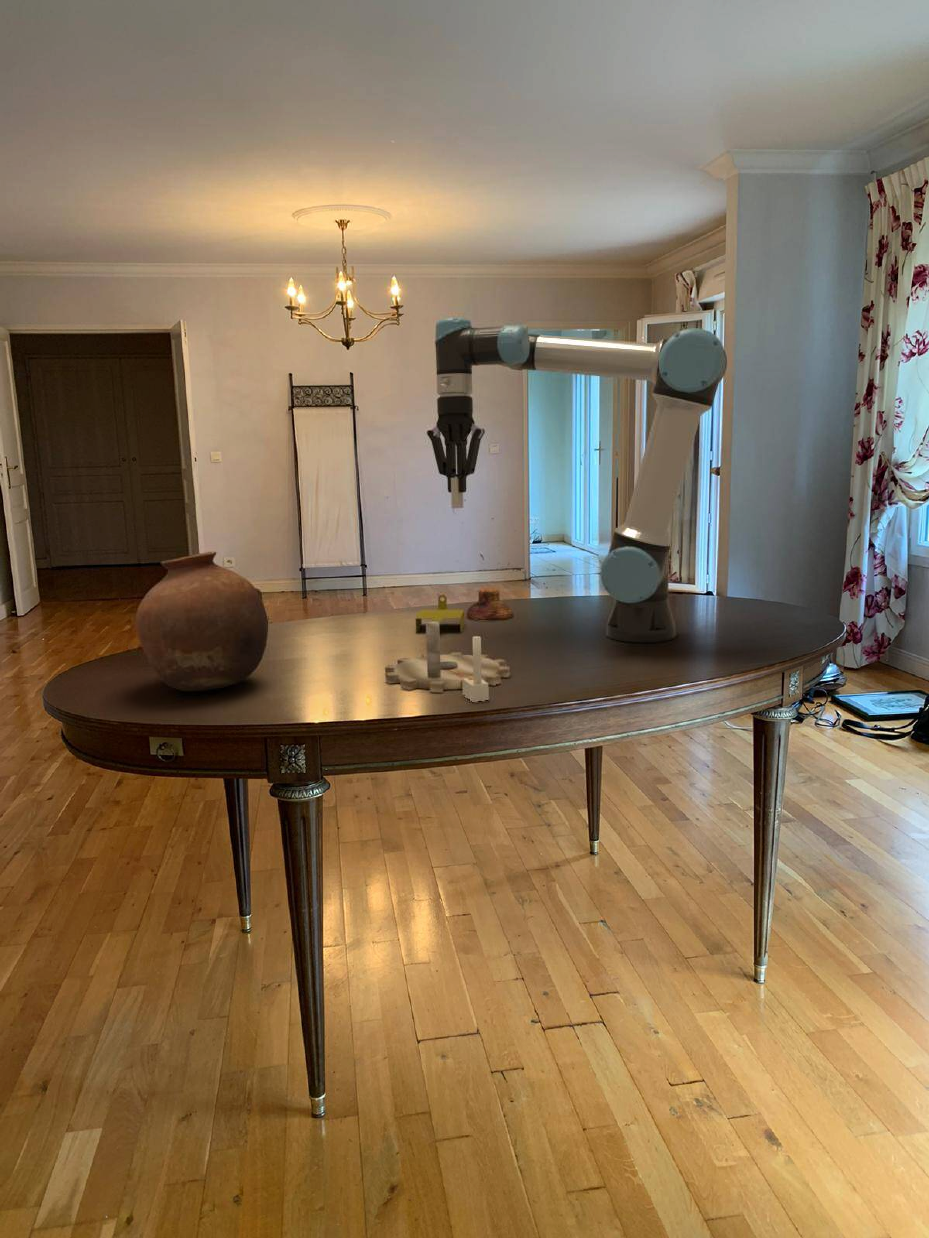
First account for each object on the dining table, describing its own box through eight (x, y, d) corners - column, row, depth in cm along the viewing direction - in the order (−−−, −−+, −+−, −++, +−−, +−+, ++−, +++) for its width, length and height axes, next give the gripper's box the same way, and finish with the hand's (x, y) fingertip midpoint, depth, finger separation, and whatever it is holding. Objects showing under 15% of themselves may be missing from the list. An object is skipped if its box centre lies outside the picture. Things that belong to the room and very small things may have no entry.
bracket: (401, 606, 198) (410, 595, 213) (402, 639, 200) (411, 626, 214) (469, 606, 197) (474, 594, 212) (470, 639, 198) (474, 625, 213)
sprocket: (460, 653, 182) (459, 599, 180) (534, 676, 164) (533, 615, 161) (362, 673, 169) (359, 614, 166) (431, 699, 150) (429, 634, 148)
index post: (462, 694, 153) (461, 633, 151) (478, 693, 154) (477, 632, 152) (472, 702, 149) (470, 639, 146) (488, 700, 150) (487, 637, 147)
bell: (456, 617, 222) (456, 589, 221) (493, 611, 229) (492, 583, 228) (485, 624, 213) (485, 594, 212) (522, 617, 220) (522, 588, 219)
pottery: (277, 696, 155) (267, 556, 150) (138, 710, 149) (124, 564, 144) (267, 666, 177) (259, 542, 172) (146, 677, 170) (133, 549, 165)
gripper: (419, 396, 185) (422, 509, 189) (474, 393, 179) (477, 509, 184) (435, 397, 191) (439, 506, 196) (490, 395, 186) (492, 507, 190)
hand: (457, 507), depth 190 cm, fingers closed
